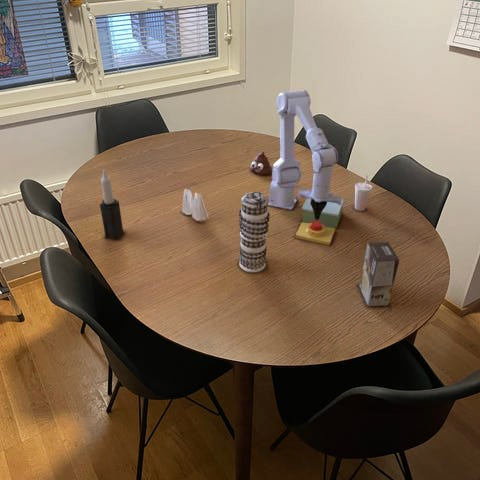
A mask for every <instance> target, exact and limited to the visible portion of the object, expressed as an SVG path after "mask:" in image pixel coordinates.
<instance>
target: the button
mask: <svg viewBox="0 0 480 480" xmlns="http://www.w3.org/2000/svg"><path fill="white" fill-rule="evenodd" d="M321 227H322V223H321V222H318V221H313V222H312V223H311V229H312V230H314V231H320V230H321Z"/></svg>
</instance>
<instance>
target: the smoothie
mask: <svg viewBox="0 0 480 480" xmlns="http://www.w3.org/2000/svg"><path fill="white" fill-rule="evenodd" d="M368 177H369V176H368V175H366V176H365V181H364V182H357V183H355V185H354V210H356V211H358V212H363V211H365V209H366V206H367V203H368V200H369V198H370V194H371V192H372V191H373V186H372V185H371V184H369V183H367V182H368Z"/></svg>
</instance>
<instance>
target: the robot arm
mask: <svg viewBox="0 0 480 480" xmlns="http://www.w3.org/2000/svg"><path fill="white" fill-rule="evenodd" d="M311 101H312V99H311V97H310V94H309V92H308V90H307V89H302V90H296V91H288V92H283V91H282V92H280V93H279V94H278V96H277V97H276V112H277V115H279V144H280V145H279V149H280V150H279V151H280V157H279V159H277V160H276V162H274V163H273V168H272V171H271V178H272V181H271V183H270V185H269V192H268V193H269V194H268V195H269V196H268V201H269V202H268V206H271V207H275V208H281V209H286V210H293V209H294V207H295V205H296V203H297V201H298V199H297V198H300V199H301V198H305V199H307V198H310V199H311V202H310V204H311V206H312V208H313V211H314V216H315V219H316V220H319V218H320V215H321V212H322V211H323V209H324V208H325V206H326V204H327V202H332V203H337V204H338V205H341V203H342V200H343V197H342V196H338V195H335V194H333V193H330V190H331V185H332V184H331V183H332V177H333V170H334V169H333V168H334V166H335V165H336V164H337V163H338V160H339V154H338V151H337V149H336V148H335V146H332V144H330V143H329V142H328V139H327V137H326V136H325V134H324V131H323V130H322V128H319V127H318V126H317V124H316V122H315V121H316V120H315V119H314V116H313V113H312V111H311V103H312V102H311ZM296 116H297V118H298V120H299V121H300V123H301V125H302V127H303V128H304V130H305V132H306V134H305V139H306V141H307V144H308V146H309V148H310V150H311V153H312V155H311V162H312V171H313V179H312V188H311V189H299V190H298V192H297V198H295V196H296V195H295V194H296V185H298V182H300V180H301V178H302V170H301V163H300V161H298V160H297V159H295V118H296Z"/></svg>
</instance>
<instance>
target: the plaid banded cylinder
mask: <svg viewBox="0 0 480 480" xmlns="http://www.w3.org/2000/svg"><path fill="white" fill-rule="evenodd" d="M240 203H241V209H239V210H238V218H239V220H238V222H239V224H238V225H239V235H240V237H241V239H240V244H239V255H238V257H239V259H238V261H239V267H240V268H241V270H244V271H245V272H247V273H259V272H261V271H263V270H265V268H266V266H267V265H266V262H267V261H266V260H267V248H268V246H267V241H266V240H267V236H268V232H269V222H270V217H271V215H270V214H271V213H270V212H269V209H268V207H269V205H268V204H269V197H266V196H265V195H264V194H263V193H262V192H260V191H250V192H247V193H246V194H245V195H244V196H242V197H241V199H240Z"/></svg>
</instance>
